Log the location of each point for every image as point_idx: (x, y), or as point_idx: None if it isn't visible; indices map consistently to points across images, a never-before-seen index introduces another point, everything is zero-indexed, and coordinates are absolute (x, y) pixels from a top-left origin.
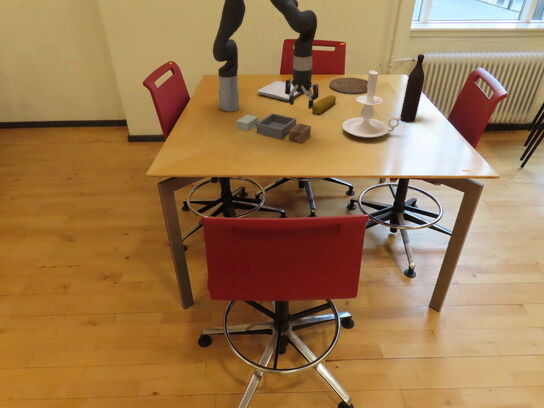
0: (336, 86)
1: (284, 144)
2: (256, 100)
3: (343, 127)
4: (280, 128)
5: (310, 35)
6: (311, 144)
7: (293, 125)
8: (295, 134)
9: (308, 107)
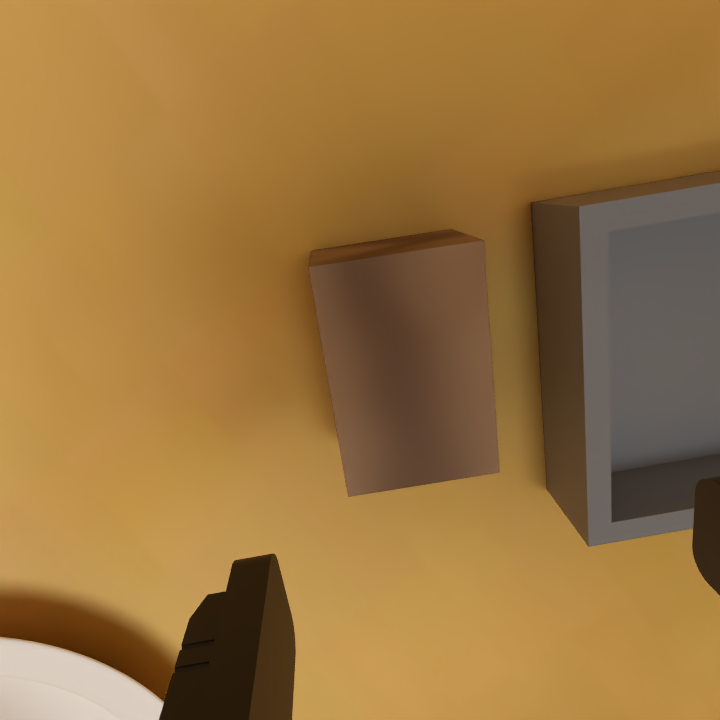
0: None
1: (438, 125)
2: None
3: (128, 686)
4: (654, 361)
5: None
6: (223, 308)
7: (563, 462)
8: (387, 251)
9: (263, 568)
